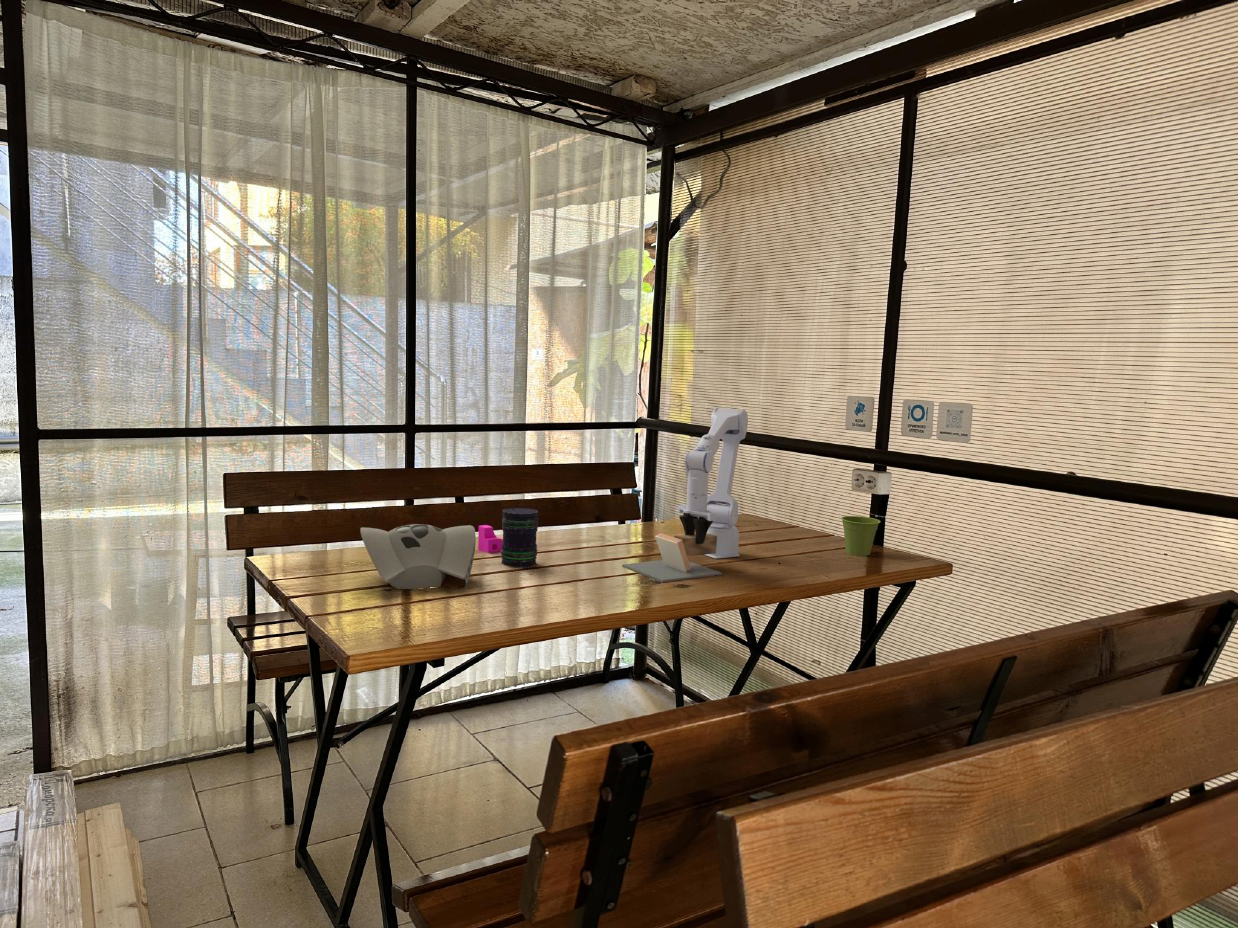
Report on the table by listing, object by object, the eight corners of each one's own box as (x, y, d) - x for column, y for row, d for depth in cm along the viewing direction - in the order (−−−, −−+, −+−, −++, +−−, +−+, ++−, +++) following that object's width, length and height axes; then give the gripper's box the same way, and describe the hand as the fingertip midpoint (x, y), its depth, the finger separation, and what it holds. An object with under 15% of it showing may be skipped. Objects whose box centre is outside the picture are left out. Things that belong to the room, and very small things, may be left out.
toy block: (488, 555, 247) (488, 529, 246) (478, 550, 252) (478, 525, 251) (533, 550, 256) (533, 525, 255) (522, 546, 261) (523, 521, 260)
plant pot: (835, 556, 264) (838, 520, 263) (841, 549, 275) (843, 514, 274) (875, 560, 260) (878, 524, 258) (879, 553, 271) (882, 518, 269)
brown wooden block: (707, 550, 245) (708, 533, 245) (715, 553, 242) (717, 536, 241) (673, 553, 239) (674, 535, 238) (681, 556, 235) (682, 538, 235)
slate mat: (680, 560, 250) (680, 558, 250) (721, 574, 234) (721, 572, 234) (622, 566, 239) (622, 564, 239) (662, 582, 223) (662, 580, 223)
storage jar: (544, 564, 237) (545, 511, 236) (516, 569, 230) (518, 515, 229) (520, 558, 244) (522, 506, 242) (493, 563, 237) (494, 509, 235)
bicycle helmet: (463, 557, 232) (468, 505, 226) (481, 608, 210) (487, 553, 204) (354, 561, 222) (357, 506, 216) (362, 615, 200) (365, 556, 194)
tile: (669, 560, 242) (660, 532, 239) (691, 568, 234) (682, 539, 231) (664, 564, 241) (654, 536, 238) (685, 572, 233) (676, 543, 230)
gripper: (670, 490, 242) (667, 538, 244) (702, 498, 230) (699, 548, 232) (690, 489, 246) (687, 536, 247) (722, 497, 234) (719, 546, 235)
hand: (694, 542), depth 240 cm, fingers closed on brown wooden block, 4 cm apart
